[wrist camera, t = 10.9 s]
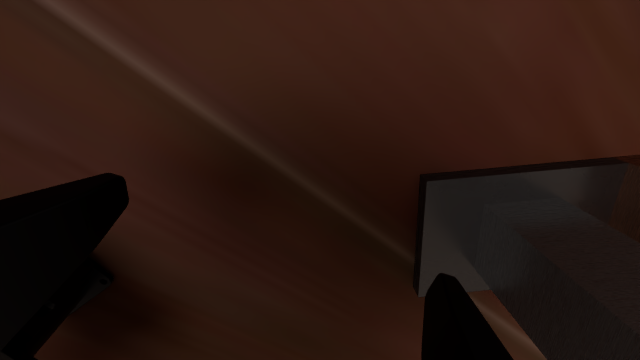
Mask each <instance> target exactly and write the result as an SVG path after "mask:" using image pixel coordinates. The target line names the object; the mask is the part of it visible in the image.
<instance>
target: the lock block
mask: <svg viewBox="0 0 640 360" xmlns="http://www.w3.org/2000/svg"><path fill="white" fill-rule="evenodd" d="M474 269H475V270H476V271H477V273H478V274H479V275H480V276H481V278H482V279H483V280H484V281H485V283H486V284H487V285H488V286H489V288H490V289H491V290H492V291H493V293H494V294H495V295H496V296H497V298H498V299H499V300H500V301H501V303H502V304H503V305H504V306H505V308H506V309H507V310H508V311H509V313H510V314H511V315H512V316H513V318H514V319H515V320H516V321H517V323H518V324H519V325H520V326H521V328H522V329H523V330H524V331H525V333H526V334H527V335H528V336H529V338H530V339H531V340H532V341H533V343H534V344H535V345H536V346H537V348H538V349H539V350H540V351H541V353H542V354H543V355H544V356H545V358H546V359H547V360H640V243H639V242H637V241H635V240H633V239H632V238H630V237H628V236H626V235H625V234H623V233H621V232H619V231H618V230H616V229H614V228H613V227H611V226H609V225H607V224H606V223H604V222H602V221H600V220H599V219H597V218H595V217H593V216H592V215H590V214H588V213H586V212H585V211H583V210H581V209H579V208H578V207H576V206H574V205H572V204H571V203H569V202H567V201H565V200H564V199H562V198H552V199H541V200H530V201H519V202H508V203H497V204H486V205H484V210H483V216H482V222H481V228H480V234H479V240H478V246H477V253H476V259H475V265H474Z"/></svg>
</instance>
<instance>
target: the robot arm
mask: <svg viewBox="0 0 640 360" xmlns="http://www.w3.org/2000/svg"><path fill="white" fill-rule="evenodd" d="M128 202H129V196H128V191H127V186H126V181H125V179H124V178H123V177H122V176H119V175H116V174H113V173H104V174H100V175H96V176H92V177H89V178H85V179H81V180H77V181H73V182H69V183H65V184H61V185H57V186H53V187H49V188H46V189H42V190H38V191H34V192H30V193H26V194H22V195H18V196H14V197H10V198H6V199H2V200H0V360H37V359H36V358H34V357H33V356H34V355H35V354H36V353H37V352H38V350H39V349H40V348H41V347H42V346H43V345H44V343H45V342H46V341H47V340H48V339H49V337H50V336H51V335H52V334H53V333H54V332H55V330H56V329H57V328H58V327H59V326H60V324H61V323H62V322H63V321H64V320H65V319H66V317H67V316H68V315H70V314H71V313H73V312H74V311H75V310H77V309H78V308H79V307H81V306H82V305H84V304H85V303H86V302H88V301H89V300H91V299H92V298H93V297H95V296H96V295H97V294H99V293H100V292H102V291H103V290H104V289H106V288H107V287H108V286H110V284H111V283H112V282H113V280H114V278H113V276H112V275H111V274H110V273H108V272H107V271H106V270H104V269H103V268H102V267H100V266H99V265H98V264H96V263H95V262H94V261H92V260H91V259H90V258H88V256H89V255H90V254H91V253H92V251H93V250H94V249H95V248H96V247H97V245H98V244H99V243H100V242H101V240H102V239H103V238H104V236H105V235H106V234H107V232H108V231H109V230H110V228H111V227H112V226H113V224H114V223H115V222H116V220H117V219H118V218H119V216H120V215H121V214H122V212H123V211H124V210H125V209H126V207H127V205H128ZM104 279H105V280H106V281H105V280H104ZM421 360H513V358H512V357H511V355H510V354H509V353H508V351H507V350H506V348H505V347H504V345H503V344H502V343H501V341H500V340H499V338H498V337H497V335H496V334H495V332H494V331H493V330H492V328H491V327H490V325H489V324H488V322H487V321H486V320H485V318H484V317H483V315H482V314H481V312H480V311H479V309H478V308H477V307H476V305H475V304H474V302H473V301H472V299H471V298H470V296H469V295H468V294H467V292H466V291H465V289H464V288H463V286H462V285H461V284H460V282H459V281H458V279H457V278H456V277H454V276H451V275H448V274H445V273H439V274H438V275H437V276H436V278H435V279H434V281H433V282H432V284H431V286H430V287H429V289H428V290H427V292H426V296H425V304H424V320H423V335H422V352H421Z"/></svg>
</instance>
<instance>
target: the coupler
mask: <svg viewBox="0 0 640 360" xmlns="http://www.w3.org/2000/svg"><path fill="white" fill-rule="evenodd" d="M552 198H562V199H564V200H565V201H567V202H569V203H571V204H572V205H574V206H576V207H578V208H579V209H581V210H583V211H585V212H586V213H588V214H590V215H592V216H593V217H595V218H597V219H599V220H600V221H602V222H604V223H606V224H607V225H609V226H611V227H613V228H614V229H616V230H618V231H619V232H621V233H623V234H625V235H626V236H628V237H630V238H632V239H633V240H635V241H637V242H639V243H640V155H633V156H622V157H611V158H600V159H589V160H578V161H567V162H556V163H544V164H533V165H522V166H511V167H500V168H489V169H478V170H467V171H456V172H445V173H433V174H422V175H420V188H419V203H418V219H417V234H416V250H415V265H414V281H413V287H414V289H415V291H416V293H417V295H418V297H425V296H426V292H427V290H428V289H429V287H430V286H431V284H432V282H433V281H434V279H435V278H436V276H437V275H438V274H439V273H445V274H448V275H451V276H454V277H456V278H457V279H458V281H459V282H460V284H461V285H462V286H463V288H464V289H465V291H466V292H472V291H482V290H491V289H490V288H489V286H488V285H487V284H486V283H485V281H484V280H483V279H482V278H481V276H480V275H479V274H478V273H477V271H476V270H475V269H474V265H475V259H476V253H477V246H478V240H479V234H480V228H481V222H482V216H483V210H484V205H486V204H497V203H508V202H519V201H530V200H541V199H552Z"/></svg>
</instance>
